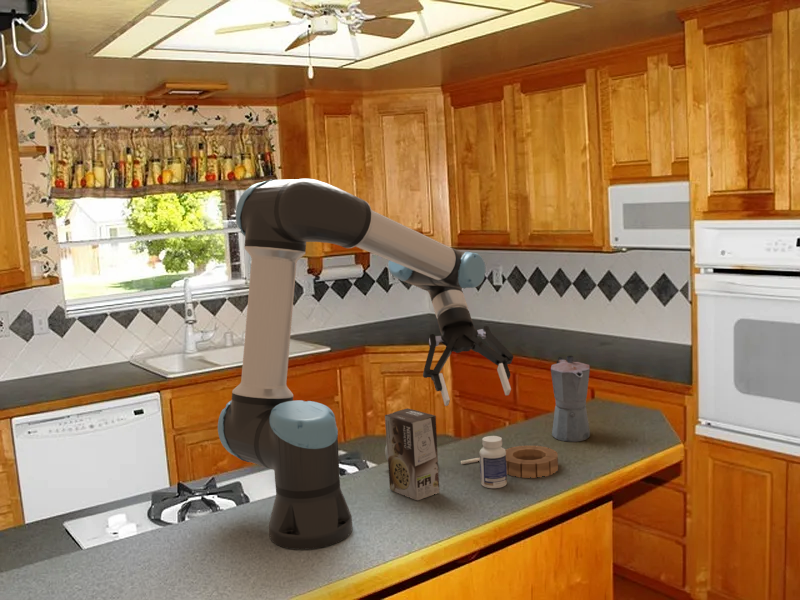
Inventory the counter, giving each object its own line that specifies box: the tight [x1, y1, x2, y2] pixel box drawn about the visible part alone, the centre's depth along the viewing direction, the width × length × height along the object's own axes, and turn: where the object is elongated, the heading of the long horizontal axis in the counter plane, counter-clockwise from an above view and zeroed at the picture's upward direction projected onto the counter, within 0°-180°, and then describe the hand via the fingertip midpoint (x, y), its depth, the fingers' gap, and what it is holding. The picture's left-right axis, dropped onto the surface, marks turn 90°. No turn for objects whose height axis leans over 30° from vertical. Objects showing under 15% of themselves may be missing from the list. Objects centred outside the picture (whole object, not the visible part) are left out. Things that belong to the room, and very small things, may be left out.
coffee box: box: [384, 408, 440, 501], centre depth 168 cm, size 9×6×16 cm
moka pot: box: [550, 354, 591, 443], centre depth 197 cm, size 10×15×20 cm, turn 14°
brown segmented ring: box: [505, 445, 559, 479], centre depth 178 cm, size 12×12×3 cm
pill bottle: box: [479, 435, 508, 489], centre depth 170 cm, size 5×5×10 cm
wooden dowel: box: [460, 457, 480, 465], centre depth 186 cm, size 16×1×1 cm, turn 110°
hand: (478, 397), depth 177 cm, fingers open, 13 cm apart
